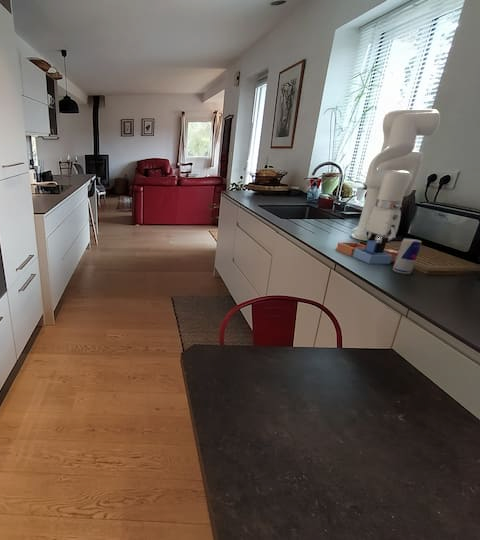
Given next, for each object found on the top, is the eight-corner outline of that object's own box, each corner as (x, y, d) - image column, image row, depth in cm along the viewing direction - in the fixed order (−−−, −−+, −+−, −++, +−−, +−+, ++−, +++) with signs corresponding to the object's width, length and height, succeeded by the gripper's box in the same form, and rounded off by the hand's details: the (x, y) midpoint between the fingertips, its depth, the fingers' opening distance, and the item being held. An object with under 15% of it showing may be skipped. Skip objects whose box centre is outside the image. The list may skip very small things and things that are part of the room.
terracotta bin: (336, 249, 145) (338, 242, 144) (355, 249, 146) (357, 242, 144) (350, 255, 137) (352, 248, 136) (370, 255, 137) (372, 248, 136)
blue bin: (352, 256, 136) (354, 248, 135) (372, 256, 136) (374, 248, 135) (368, 263, 127) (371, 255, 126) (390, 263, 128) (392, 255, 127)
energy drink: (411, 275, 116) (423, 243, 112) (392, 272, 119) (403, 240, 115) (410, 271, 120) (421, 240, 116) (392, 268, 123) (402, 237, 119)
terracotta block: (378, 258, 134) (381, 249, 133) (388, 258, 134) (391, 249, 133) (386, 261, 130) (390, 252, 129) (396, 261, 131) (399, 252, 129)
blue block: (365, 249, 132) (367, 240, 131) (374, 249, 132) (377, 240, 131) (372, 252, 128) (375, 242, 127) (382, 252, 129) (385, 242, 127)
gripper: (417, 208, 116) (400, 257, 123) (379, 202, 132) (366, 245, 138) (397, 208, 116) (381, 257, 122) (361, 201, 132) (349, 245, 138)
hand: (373, 250), depth 130 cm, fingers closed on blue block, 4 cm apart
